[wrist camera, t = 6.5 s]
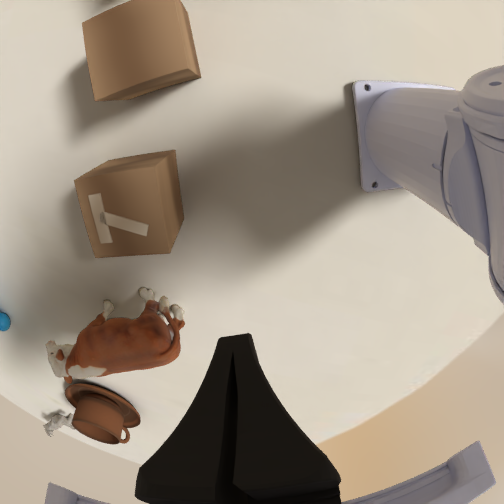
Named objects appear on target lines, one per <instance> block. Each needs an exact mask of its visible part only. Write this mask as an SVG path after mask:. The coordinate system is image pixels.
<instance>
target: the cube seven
mask: <svg viewBox="0 0 504 504" xmlns="http://www.w3.org/2000/svg"><path fill="white" fill-rule="evenodd" d="M74 182H75V187H76V191H77V195H78V199H79V203H80V207H81V211H82V215H83V219H84V222H85V226H86V229H87V233H88V236H89V240H90V243H91V246H92V249H93V252H94V255H95V258H103V257H119V256H135V255H151V254H167V253H170V252H171V249H172V247H173V244H174V242H175V239H176V237H177V234H178V232H179V230H180V227H181V225H182V222H183V220H184V214H183V207H182V200H181V193H180V186H179V178H178V170H177V161H176V153H175V150H170V151H162V152H155V153H148V154H142V155H136V156H130V157H124V158H119V159H113V160H108V161H107V162H105V163H103V164H101V165H99V166H98V167H96V168H94V169H92V170H91V171H89V172H87V173H86V174H84V175H82V176H80V177H79V178H77V179H76V180H74Z"/></svg>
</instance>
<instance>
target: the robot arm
mask: <svg viewBox="0 0 504 504" xmlns="http://www.w3.org/2000/svg"><path fill="white" fill-rule="evenodd" d="M365 84H366V85H368V87H369V90H368V91H366V90H365V89H364V86H365ZM352 90H353V97H354V105H355V113H356V122H357V132H358V143H359V157H360V174H361V187H362V189H363V190H364V191H366V192H374V191H382V190H389V189H397V188H405V189H407V190H408V191H410V192H411V193H413V194H414V195H416V196H417V197H419V198H420V199H422V200H423V201H424V202H426V203H427V204H429V205H430V206H432V207H433V208H434V209H436V210H437V211H439V212H440V213H441V214H443V215H444V216H445V217H447V218H448V219H449V220H451V221H452V222H453V223H455V224H456V225H457V226H459V227H460V228H461V229H462V230H463V231H465V232H466V233H467V234H468V235H470V236H471V237H473V239H474V242H475V245H476V246H477V247H479V248H480V249H481V250H482V251H483V252H484V253H485V254H487V255H488V256H489V278H490V281H491V285H492V287H493V289H494V291H495V294H496V295H497V297H498V298H499V300H500V301H501V302H502V303H503V304H504V65H502V66H497V67H493V68H489V69H486V70H484V71H481V72H479V73H477V74H475V75H473V76H472V77H471V78H469V79H468V81H467V82H466V84H465V86H464V88H463V90H462V91H457V90H455V89H454V88H452V87H445V86H438V85H430V84H420V83H409V82H394V81H355V82H354V83H353V85H352ZM373 182H376V185H375V186H374V187H372V183H373ZM340 482H341V478H340V475H339V473H338V472H337V470H336V469H335V467H334V466H333V465H332V463H331V462H330V460H329V459H328V458H327V456H326V455H325V454H324V453H323V452H322V451H321V450H320V449H319V448H318V447H317V446H316V445H315V444H314V443H313V442H312V441H311V440H310V439H309V438H308V437H307V435H306V434H305V433H304V432H303V431H302V430H301V429H300V427H299V426H298V425H297V424H296V422H295V421H294V420H293V419H292V418H291V416H290V415H289V414H288V412H287V411H286V409H285V408H284V407H283V405H282V404H281V402H280V401H279V399H278V398H277V396H276V394H275V393H274V391H273V390H272V388H271V386H270V384H269V382H268V381H267V379H266V377H265V375H264V373H263V371H262V368H261V366H260V364H259V361H258V357H257V353H256V350H255V346H254V342H253V339H252V335H251V334H249V333H247V334H240V335H234V336H227V337H221V338H219V339H218V342H217V346H216V349H215V352H214V355H213V358H212V360H211V363H210V366H209V368H208V371H207V373H206V375H205V378H204V380H203V382H202V384H201V386H200V388H199V390H198V393H197V395H196V397H195V398H194V400H193V402H192V404H191V406H190V407H189V409H188V411H187V412H186V414H185V415H184V417H183V418H182V420H181V421H180V423H179V424H178V426H177V427H176V429H175V430H174V431H173V433H172V434H171V435H170V436H169V438H168V439H167V440H166V441H165V442H164V443H163V445H162V446H161V447H160V448H159V449H158V450H157V451H156V453H155V454H154V455H152V456H151V457H150V458H149V459H148V460H147V461H146V462H145V463H144V464H143V465H142V466H141V467H140V468H139V472H138V476H137V480H136V488H135V497H136V498H137V499H139V500H141V501H144V502H146V503H149V504H468V503H470V502H471V501H473V500H474V499H476V498H477V497H479V496H480V495H481V494H483V493H484V492H486V491H487V490H488V489H490V488H491V487H492V486H494V485H495V484H496V481H495V478H494V475H493V473H492V470H491V468H490V465H489V463H488V460H487V458H486V455H485V453H484V451H483V449H482V446H481V444H480V441H476V442H475V443H473V444H471V445H470V446H468V447H467V448H465V449H464V450H462V451H460V452H458V453H457V454H455V455H453V456H452V457H451V458H449V459H448V460H447V461H446V462H444V463H442V464H441V465H439V466H437V467H435V468H433V469H431V470H429V471H427V472H424V473H423V474H420V475H418V476H416V477H414V478H411V479H409V480H407V481H404V482H402V483H399V484H397V485H394V486H392V487H389V488H386V489H384V490H381V491H378V492H375V493H372V494H369V495H366V496H363V497H359V498H356V499H353V500H349V501H345V502H341V499H340V490H339V483H340ZM45 504H109V503H105V502H101V501H98V500H94V499H91V498H87V497H84V496H81V495H78V494H76V493H74V492H73V491H70V490H68V489H66V488H63V487H61V486H58V485H55V484H53V483H49V484H48V489H47V494H46V499H45Z"/></svg>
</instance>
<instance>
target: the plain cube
mask: <svg viewBox="0 0 504 504" xmlns="http://www.w3.org/2000/svg"><path fill="white" fill-rule="evenodd" d="M82 27H83V35H84V43H85V49H86V56H87V62H88V68H89V73H90V79H91V84H92V89H93V93H94V98H95V101H108V100H129V99H132V98H135V97H138V96H141V95H143V94H146V93H149V92H152V91H155V90H159V89H162V88H165V87H168V86H172V85H175V84H179V83H182V82H186V81H190V80H194V79H198V78H201V74H200V69H199V64H198V60H197V55H196V50H195V45H194V41H193V36H192V31H191V26H190V21H189V17H188V13H187V11H186V9H185V7H184V6H183V4H182V2H181V1H180V0H131V1H128V2H126V3H123V4H121V5H119V6H116V7H114V8H112V9H109V10H107V11H105V12H103V13H101V14H99V15H97V16H95V17H93V18H91V19H89V20H87V21H85V22H83V23H82Z"/></svg>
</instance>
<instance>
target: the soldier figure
mask: <svg viewBox="0 0 504 504" xmlns="http://www.w3.org/2000/svg"><path fill="white" fill-rule="evenodd" d="M73 416H74V415H73V414H70V415H69V417H68V419H67V418H66V417H64V416H63V415H55V416H53V417H52V420H51V421H50V422H48V423H47V424H45V425H43V426H44V428H45V431H46V433H47V434H48V436H50V434H51V435H53V430H56V429H58V428H61V426H62V425H66V426H68V427H70V428H72V429H75V428H74V427H73V426H71V422H72V419H73ZM50 437H51V436H50Z"/></svg>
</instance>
